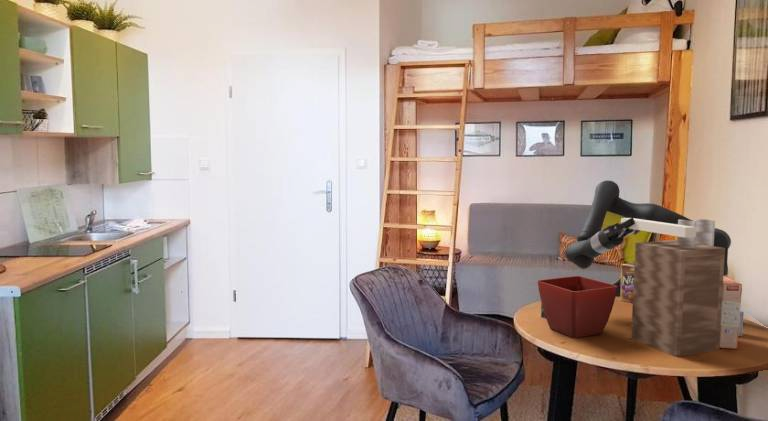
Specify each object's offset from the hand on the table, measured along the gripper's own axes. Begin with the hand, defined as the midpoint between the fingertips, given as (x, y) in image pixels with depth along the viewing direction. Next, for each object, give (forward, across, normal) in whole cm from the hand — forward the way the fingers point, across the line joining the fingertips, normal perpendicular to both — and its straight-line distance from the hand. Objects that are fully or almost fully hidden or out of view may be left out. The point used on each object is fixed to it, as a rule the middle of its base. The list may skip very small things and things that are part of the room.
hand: (639, 220), depth 191 cm
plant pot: (-28, -16, +29) cm, 43 cm away
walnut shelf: (-9, +4, +40) cm, 41 cm away
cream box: (+5, 0, +6) cm, 8 cm away
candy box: (-49, +32, +17) cm, 61 cm away
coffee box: (-43, -13, +20) cm, 49 cm away
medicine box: (-11, +31, +39) cm, 51 cm away
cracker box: (-6, +20, +42) cm, 47 cm away
